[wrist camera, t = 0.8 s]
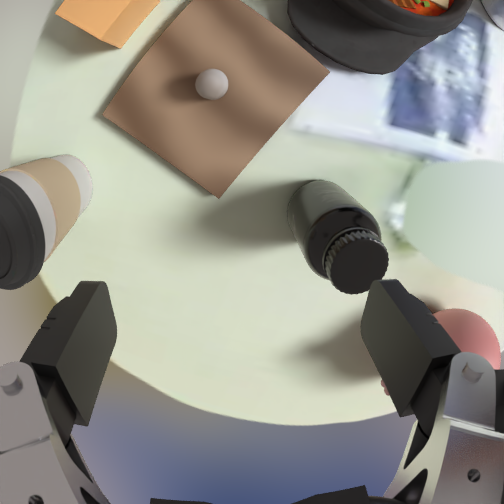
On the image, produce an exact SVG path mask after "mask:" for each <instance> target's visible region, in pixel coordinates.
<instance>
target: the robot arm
mask: <svg viewBox="0 0 504 504" xmlns="http://www.w3.org/2000/svg"><path fill="white" fill-rule="evenodd" d="M481 1H482V4H483V6H484V8H485V10H486V11H487V13H488V15H489V16H490V17H491V19H492V20H493V21H494V22H495V23H496V24H497V26H498V27H500V28H501V29H502V30H504V0H481ZM361 335H362V339H363V341H364V343H365V345H366V347H367V349H368V351H369V353H370V355H371V357H372V359H373V361H374V363H375V365H376V367H377V369H378V371H379V373H380V375H381V377H382V380H383V382H384V384H385V386H386V388H387V390H388V392H389V394H390V397H391V399H392V401H393V403H394V405H395V407H396V410H397V412H398V414H399V416H400V417H404V416H408V415H412V414H415V415H416V418H417V420H416V421H415V423H414V425H413V427H412V430H411V434H410V437H409V440H408V443H407V446H406V449H405V452H404V455H403V458H402V460H401V463H400V466H399V469H398V471H397V474H396V476H395V478H394V480H393V481H392V483H391V485H390V486H389V488H388V489H387V491H386V492H385V494H384V496H383V497H378V496H368V494H367V491H366V487H365V485H363V486H359V487H355V488H350V489H345V490H340V491H335V492H329V493H323V494H317V495H314V496H311V497H309V498H307V499H303V500H301V501H298V502H295V503H292V504H500V503H501V504H504V370H500V369H493V367H492V365H491V364H490V363H489V362H488V361H487V360H486V359H485V358H483V357H482V356H480V355H478V354H475V353H472V352H461V350H460V349H459V348H458V346H457V345H456V344H455V342H454V341H453V340H452V338H451V337H450V336H449V334H448V333H447V332H446V330H445V329H444V328H443V327H442V325H441V324H439V323H438V320H437V319H436V318H435V316H434V315H432V313H431V311H430V310H429V309H428V308H427V306H426V305H425V304H424V303H423V302H422V301H420V300H419V299H418V298H416V297H415V296H413V295H412V294H409V293H408V292H407V290H406V289H405V288H404V287H403V285H402V284H401V283H400V282H399V281H398V280H397V279H389V280H374V281H373V282H372V284H371V286H370V289H369V293H368V297H367V301H366V305H365V309H364V313H363V316H362V320H361ZM116 338H117V325H116V320H115V316H114V312H113V308H112V304H111V300H110V295H109V291H108V287H107V285H106V283H105V282H103V281H81V282H79V284H78V285H77V287H76V288H75V290H74V291H73V293H72V294H71V296H70V297H65V298H64V299H62V300H61V301H60V302H59V303H57V304H56V305H55V306H54V307H53V309H52V310H51V311H50V313H49V314H48V316H47V320H45V321H44V322H43V324H42V325H41V329H39V330H38V332H37V333H36V335H35V336H34V338H33V340H32V341H31V343H30V345H29V346H28V348H27V350H26V352H25V353H24V355H23V357H22V358H21V360H20V362H10V363H7V364H5V365H3V366H1V367H0V504H111V503H110V502H109V501H108V499H107V498H106V497H105V495H104V494H103V493H102V491H101V490H100V488H99V486H98V485H97V483H96V481H95V480H94V477H93V476H92V474H91V472H90V470H89V468H88V466H87V464H86V462H85V460H84V458H83V456H82V454H81V452H80V450H79V448H78V446H77V444H76V442H75V439H74V438H73V436H72V434H71V431H72V428H73V425H74V424H77V425H83V426H88V424H89V421H90V418H91V414H92V411H93V408H94V404H95V402H96V398H97V395H98V392H99V389H100V386H101V383H102V380H103V377H104V374H105V371H106V368H107V365H108V363H109V360H110V357H111V354H112V351H113V349H114V346H115V343H116ZM150 504H211V503H207V502H196V501H177V500H165V499H155V498H151V500H150Z"/></svg>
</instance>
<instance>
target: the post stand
mask: <svg viewBox="0 0 504 504" xmlns="http://www.w3.org/2000/svg"><path fill="white" fill-rule="evenodd" d="M329 73H330V71H329V70H328V69H326V68H325V67H324V66H323V65H322V64H321V63H320V62H319V61H318V60H316V59H315V58H314V57H313V56H312V55H311V54H310V53H308V52H307V51H306V50H305V49H304V48H302V47H301V46H300V45H299V44H298V43H296V42H295V41H294V40H293V39H292V38H290V37H289V36H288V35H287V34H285V33H284V32H283V31H281V30H280V29H279V28H278V27H276V26H275V25H274V24H272V23H271V22H270V21H268V20H267V19H266V18H264V17H263V16H262V15H260V14H259V13H257V12H256V11H255V10H253V9H252V8H250V7H249V6H248V5H246V4H245V3H243V2H242V1H240V0H192V1H191V2H190V3H189V4H188V5H187V7H186V8H185V9H184V10H183V11H182V12H181V13H180V14H179V15H178V16H177V17H176V18H175V19H174V21H173V22H172V23H171V24H170V25H169V26H168V27H167V28H166V30H165V31H164V32H163V33H162V34H161V35H160V37H159V38H158V39H157V40H156V41H155V43H154V44H153V45H152V46H151V48H150V49H149V50H148V51H147V52H146V54H145V55H144V56H143V58H142V59H141V60H140V61H139V63H138V64H137V65H136V67H135V68H134V69H133V71H132V72H131V73H130V75H129V76H128V77H127V79H126V80H125V82H124V83H123V84H122V86H121V87H120V89H119V90H118V92H117V93H116V94H115V96H114V97H113V99H112V100H111V102H110V103H109V105H108V106H107V108H106V109H105V111H104V113H103V114H102V115H103V116H104V117H106V118H107V119H109V120H110V121H111V122H113V123H114V124H116V125H117V126H119V127H120V128H121V129H123V130H124V131H126V132H127V133H128V134H130V135H131V136H133V137H134V138H136V139H137V140H138V141H140V142H141V143H143V144H144V145H145V146H147V147H148V148H150V149H151V150H152V151H154V152H155V153H157V154H158V155H159V156H161V157H162V158H163V159H165V160H166V161H168V162H169V163H170V164H172V165H173V166H175V167H176V168H177V169H179V170H180V171H181V172H183V173H184V174H186V175H187V176H188V177H190V178H191V179H192V180H194V181H195V182H197V183H198V184H199V185H201V186H202V187H203V188H205V189H206V190H207V191H209V192H210V193H211V194H213V195H214V196H216V197H217V198H218V199H219V198H220V197H221V196H222V194H223V193H224V192H225V191H226V190H227V188H228V187H229V186H230V185H231V184H232V182H233V181H234V180H235V179H236V178H237V176H238V175H239V174H240V173H241V172H242V170H243V169H244V168H245V167H246V166H247V164H248V163H249V162H250V161H251V160H252V159H253V157H254V156H255V155H256V154H257V153H258V152H259V150H260V149H261V148H262V147H263V146H264V145H265V143H266V142H267V141H268V140H269V139H270V138H271V137H272V135H273V134H274V133H275V132H276V131H277V130H278V129H279V127H280V126H281V125H282V124H283V123H284V122H285V121H286V120H287V118H288V117H289V116H290V115H291V114H292V113H293V112H294V111H295V110H296V108H297V107H298V106H299V105H300V104H301V103H302V102H303V101H304V100H305V99H306V97H307V96H308V95H309V94H310V93H311V92H312V91H313V90H314V89H315V88H316V87H317V86H318V84H319V83H320V82H321V81H322V80H323V79H324V78H325V77H326V76H327V75H328V74H329Z"/></svg>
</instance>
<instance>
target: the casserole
mask: <svg viewBox="0 0 504 504" xmlns="http://www.w3.org/2000/svg"><path fill="white" fill-rule="evenodd" d="M472 1H473V0H288V15H289V17H290V20H291V23H292V25H293V27H294V28H295V29H296V30H297V31H298V33H299V34H300V35H301V36H302V37H303V39H305V40H306V41H307V42H308V43H309V44H311V45H312V46H313V47H314V48H315V49H316V50H318V51H319V52H321V53H322V54H324V55H325V56H327V57H329V58H330V59H332V60H333V61H335V62H337V63H340V64H342V65H344V66H346V67H349V68H351V69H354V70H357V71H361V72H365V73H368V74H381V75H383V74H387V73H390V72H393V71H395V70H396V69H398V68H399V67H400V66H401V65H402V64H403V63H404V62H405V61H406V60H407V59H408V58H409V57H410V56H411V54H412V53H413V52H414V51H416V50H418V49H419V48H421V47H423V46H425V45H426V44H428V43H430V42H431V41H433V40H435V39H436V38H437V37H438V36H439V35H443V34H446V33H448V32H450V31H452V30H453V29H455V28H456V27H457V26H458V25H459V24H460V23H461V22H462V21H463V19H464V17H465V15H466V12H467V10H468V9H469V7H470V5H471V3H472Z"/></svg>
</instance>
